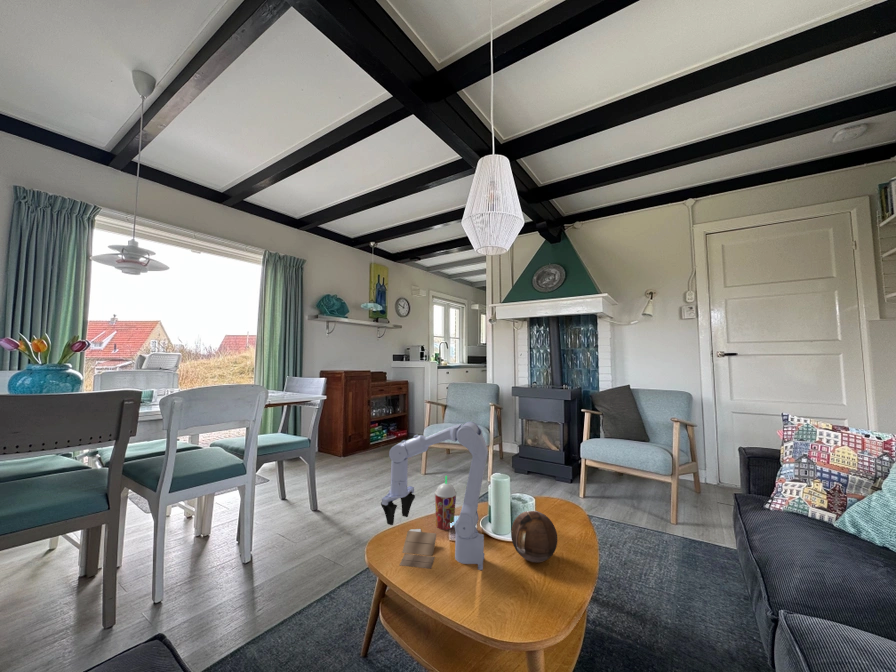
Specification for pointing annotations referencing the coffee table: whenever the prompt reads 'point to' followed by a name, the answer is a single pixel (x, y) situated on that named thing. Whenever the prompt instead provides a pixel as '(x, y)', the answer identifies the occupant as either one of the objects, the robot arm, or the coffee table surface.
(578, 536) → the coffee table surface
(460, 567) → the coffee table surface
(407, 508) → the robot arm
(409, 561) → the laid board
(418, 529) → the light grey block
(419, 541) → the board
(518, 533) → the wooden sphere
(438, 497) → the smoothie
